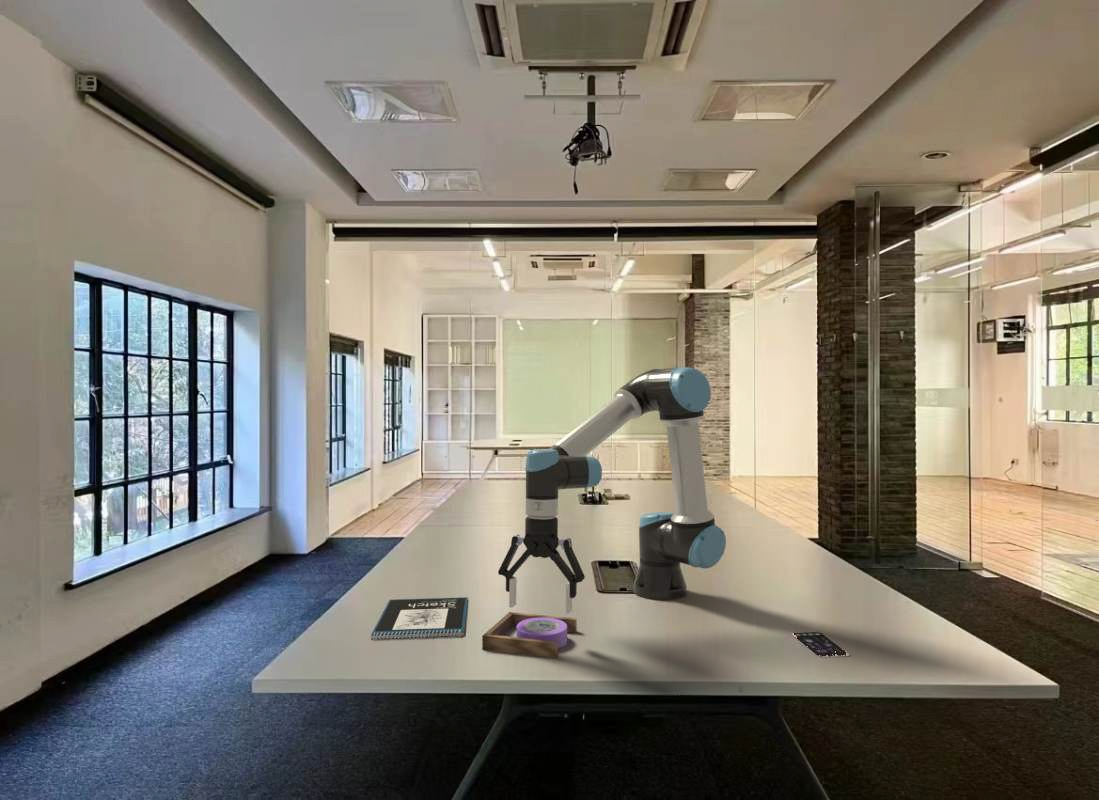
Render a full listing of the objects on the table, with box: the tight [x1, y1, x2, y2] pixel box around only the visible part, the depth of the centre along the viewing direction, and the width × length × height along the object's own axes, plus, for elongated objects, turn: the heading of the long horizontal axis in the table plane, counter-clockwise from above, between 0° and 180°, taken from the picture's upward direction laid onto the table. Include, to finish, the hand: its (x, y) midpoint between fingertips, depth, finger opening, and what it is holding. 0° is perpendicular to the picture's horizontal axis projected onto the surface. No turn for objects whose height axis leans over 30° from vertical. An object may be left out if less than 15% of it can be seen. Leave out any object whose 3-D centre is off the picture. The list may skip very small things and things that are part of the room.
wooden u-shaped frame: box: [481, 611, 578, 659], centre depth 153 cm, size 17×17×3 cm
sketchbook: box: [370, 596, 469, 641], centre depth 169 cm, size 22×30×2 cm
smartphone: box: [793, 631, 846, 658], centre depth 150 cm, size 8×1×15 cm
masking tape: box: [516, 617, 568, 649], centre depth 153 cm, size 12×12×4 cm
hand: (540, 608), depth 153 cm, fingers open, 13 cm apart
